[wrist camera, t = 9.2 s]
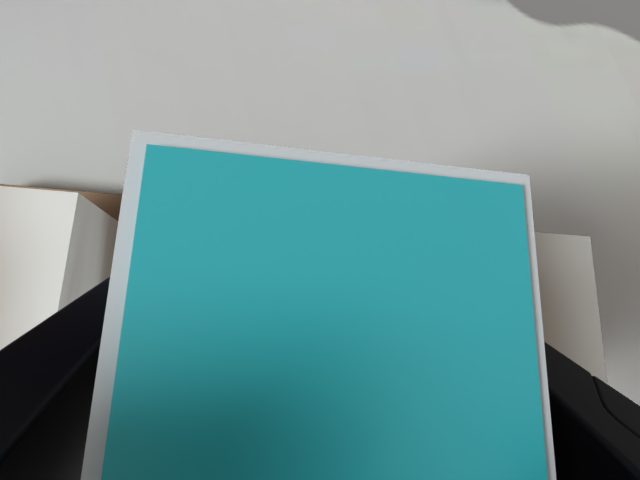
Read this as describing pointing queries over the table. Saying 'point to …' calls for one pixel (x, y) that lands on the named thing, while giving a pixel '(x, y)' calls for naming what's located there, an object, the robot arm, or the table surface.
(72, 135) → the table surface
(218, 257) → the logic module
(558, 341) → the rail board
